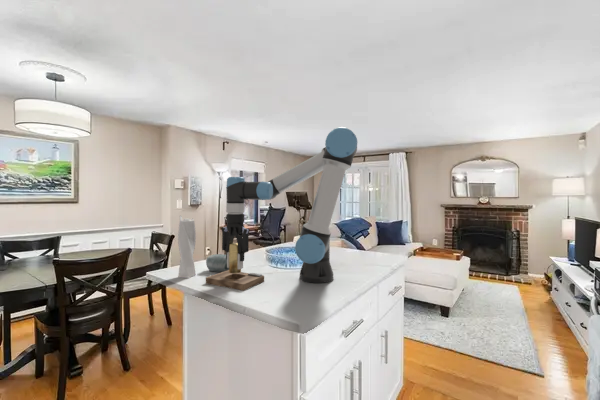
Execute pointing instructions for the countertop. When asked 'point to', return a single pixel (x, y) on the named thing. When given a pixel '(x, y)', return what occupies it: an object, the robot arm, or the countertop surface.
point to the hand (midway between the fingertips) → (235, 267)
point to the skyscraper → (186, 247)
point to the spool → (217, 263)
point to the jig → (235, 280)
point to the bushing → (233, 258)
